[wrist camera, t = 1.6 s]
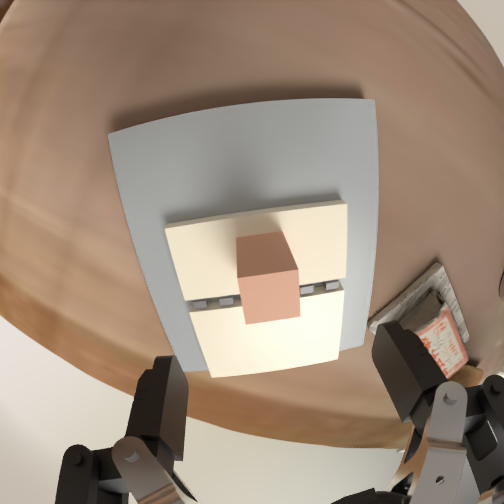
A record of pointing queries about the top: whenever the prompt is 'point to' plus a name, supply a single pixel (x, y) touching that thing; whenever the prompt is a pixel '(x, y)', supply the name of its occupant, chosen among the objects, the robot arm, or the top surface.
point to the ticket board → (246, 199)
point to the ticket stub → (261, 255)
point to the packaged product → (431, 318)
